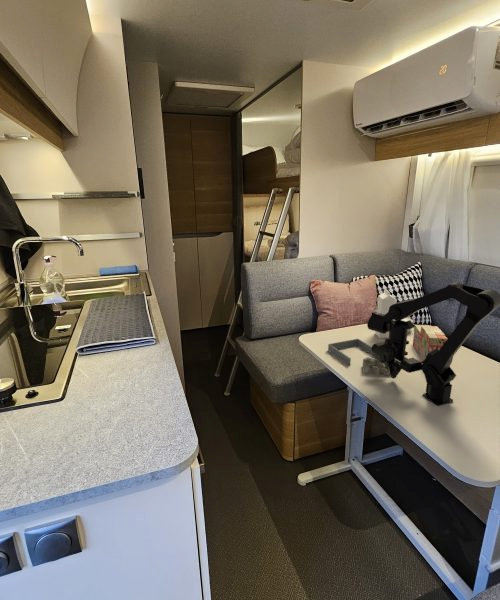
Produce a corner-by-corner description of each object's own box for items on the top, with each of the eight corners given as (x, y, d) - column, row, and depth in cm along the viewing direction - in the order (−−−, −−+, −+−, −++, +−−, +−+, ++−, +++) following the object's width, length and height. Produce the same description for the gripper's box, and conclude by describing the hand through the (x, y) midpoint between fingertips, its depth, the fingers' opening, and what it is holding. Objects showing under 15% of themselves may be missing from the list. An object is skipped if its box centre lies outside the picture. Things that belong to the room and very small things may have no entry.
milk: (387, 333, 165) (392, 288, 159) (392, 338, 159) (397, 292, 153) (374, 333, 165) (378, 288, 159) (378, 338, 159) (383, 292, 153)
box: (380, 358, 139) (381, 352, 138) (349, 365, 135) (349, 358, 134) (357, 344, 153) (357, 338, 152) (328, 350, 148) (328, 344, 147)
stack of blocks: (412, 344, 152) (415, 317, 149) (427, 345, 151) (431, 318, 148) (425, 366, 132) (429, 337, 129) (443, 367, 131) (448, 338, 128)
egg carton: (362, 373, 129) (362, 363, 128) (362, 364, 136) (363, 354, 135) (392, 377, 126) (393, 366, 125) (391, 367, 133) (392, 357, 131)
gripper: (360, 331, 124) (357, 370, 128) (398, 352, 107) (393, 396, 112) (385, 326, 127) (382, 365, 132) (426, 346, 111) (420, 389, 115)
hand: (393, 377), depth 123 cm, fingers closed
